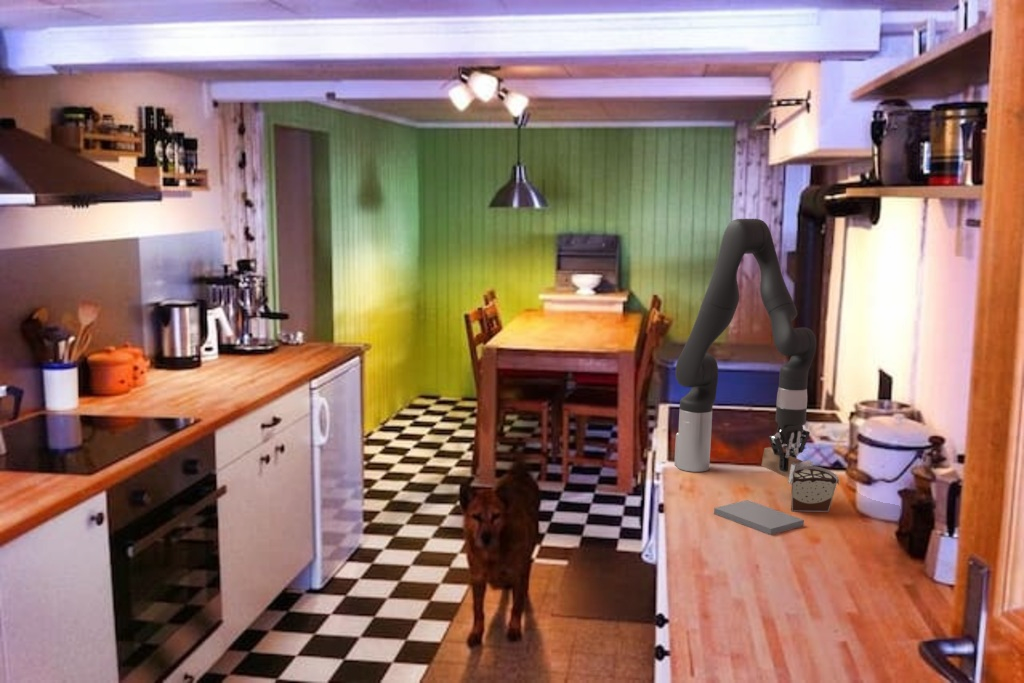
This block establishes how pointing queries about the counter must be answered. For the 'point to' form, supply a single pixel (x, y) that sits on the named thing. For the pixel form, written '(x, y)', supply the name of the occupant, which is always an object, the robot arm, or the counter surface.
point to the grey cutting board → (759, 517)
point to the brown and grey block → (773, 461)
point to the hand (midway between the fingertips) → (787, 469)
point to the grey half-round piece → (812, 489)
